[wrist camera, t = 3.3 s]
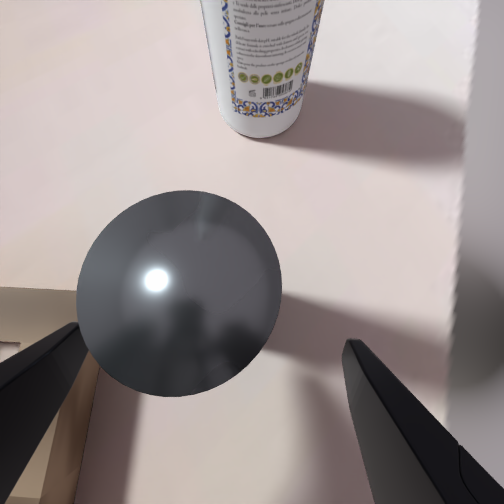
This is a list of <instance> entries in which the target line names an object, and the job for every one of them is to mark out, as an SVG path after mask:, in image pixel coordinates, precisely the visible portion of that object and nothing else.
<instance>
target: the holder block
mask: <svg viewBox="0 0 504 504" xmlns="http://www.w3.org/2000/svg"><path fill="white" fill-rule="evenodd" d="M76 292H77V291H71V290H52V289H33V288H14V287H0V341H5V342H21V344H20V348H19V352H20V351H22V350H23V349H25V348H27V347H29V346H30V345H32V344H34V343H35V342H37V341H39V340H41V339H42V338H44V337H46V336H48V335H49V334H51V333H53V332H54V331H56V330H58V329H60V328H61V327H63V326H65V325H66V324H68V323H70V322H74V321H76V322H78V319H77V309H76ZM99 367H100V365H99V364H98V362H97V361H96V360H95V359H94V357H93V356H92V354H91V353H90V351H88V353H87V356H86V358H85V360H84V362H83V364H82V366H81V369H80V371H79V373H78V375H77V377H76V380H75V382H74V384H73V386H72V388H71V390H70V391H69V393H68V395H67V397H66V399H65V400H64V402H63V404H62V405H61V407H60V409H59V411H58V412H57V414H56V416H55V418H54V419H53V421H52V423H51V425H50V426H49V428H48V430H47V431H46V433H45V435H44V437H43V438H42V440H41V442H40V444H39V445H38V447H37V449H36V451H35V452H34V454H33V456H32V457H31V459H30V461H29V463H28V464H27V466H26V468H25V470H24V471H23V473H22V475H21V477H20V478H19V480H18V482H17V483H16V485H15V487H14V489H13V490H12V492H11V494H10V496H9V497H8V499H7V501H6V502H5V504H74V498H75V493H76V488H77V483H78V477H79V472H80V467H81V462H82V456H83V451H84V446H85V441H86V435H87V430H88V425H89V420H90V414H91V409H92V404H93V399H94V393H95V388H96V383H97V378H98V372H99Z"/></svg>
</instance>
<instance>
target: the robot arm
mask: <svg viewBox="0 0 504 504" xmlns="http://www.w3.org/2000/svg"><path fill="white" fill-rule="evenodd" d="M88 351H89V349H88V347H87V346H86V344H85V341H84V339H83V336H82V334H81V331H80V327H79V323H78V322H76V321H74V322H70V323H68V324H66V325H65V326H63V327H61V328H60V329H58V330H56V331H54V332H53V333H51V334H49V335H48V336H46V337H44V338H42V339H41V340H39V341H37V342H35V343H34V344H32V345H30V346H29V347H27V348H25V349H23V350H22V351H20V352H18V353H17V354H15V355H13V356H11V357H10V358H8V359H6V360H4V361H3V362H1V363H0V504H5V502H6V501H7V499H8V497H9V496H10V494H11V492H12V490H13V489H14V487H15V485H16V483H17V482H18V480H19V478H20V477H21V475H22V473H23V471H24V470H25V468H26V466H27V464H28V463H29V461H30V459H31V457H32V456H33V454H34V452H35V451H36V449H37V447H38V445H39V444H40V442H41V440H42V438H43V437H44V435H45V433H46V431H47V430H48V428H49V426H50V425H51V423H52V421H53V419H54V418H55V416H56V414H57V412H58V411H59V409H60V407H61V405H62V404H63V402H64V400H65V399H66V397H67V395H68V393H69V391H70V390H71V388H72V386H73V384H74V382H75V380H76V377H77V375H78V373H79V371H80V369H81V366H82V364H83V362H84V360H85V358H86V356H87V353H88ZM342 365H343V371H344V378H345V384H346V390H347V397H348V403H349V408H350V412H351V416H352V420H353V424H354V428H355V431H356V435H357V439H358V443H359V446H360V450H361V454H362V458H363V461H364V465H365V469H366V472H367V476H368V480H369V484H370V487H371V491H372V495H373V499H374V502H375V504H504V489H503V487H502V486H500V485H499V484H498V483H497V482H496V481H495V480H494V479H493V478H492V477H491V476H490V474H488V472H487V471H486V470H485V469H484V468H483V467H482V466H481V465H480V464H479V463H478V462H477V461H476V460H475V459H474V458H473V457H472V456H471V455H470V454H469V453H468V452H467V451H466V450H465V449H464V448H463V447H462V446H461V445H459V444H458V441H457V440H456V439H455V438H454V437H453V436H452V435H451V434H450V433H449V432H448V431H447V430H446V429H445V428H444V427H443V426H442V425H441V424H440V422H439V421H438V420H437V419H436V418H435V417H434V416H433V415H432V414H431V413H430V412H429V411H428V410H427V409H426V408H425V407H424V406H423V405H422V404H421V402H420V401H419V400H418V399H417V398H416V397H415V396H414V395H413V394H412V393H411V392H410V391H409V390H408V389H407V388H406V387H405V386H404V385H403V384H402V383H401V381H400V380H399V379H398V378H397V377H396V376H395V375H394V374H393V373H392V372H391V371H390V370H389V369H388V368H387V367H386V366H385V365H384V364H383V363H382V361H381V360H380V359H379V358H378V357H377V356H376V355H375V354H374V353H373V352H372V351H371V350H370V349H369V348H368V347H367V346H366V345H365V344H364V343H363V342H362V341H361V340H360V339H351V338H349V339H347V340H346V343H345V346H344V350H343V353H342Z"/></svg>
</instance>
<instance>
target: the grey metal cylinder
mask: <svg viewBox="0 0 504 504" xmlns="http://www.w3.org/2000/svg"><path fill="white" fill-rule="evenodd" d="M281 293H282V279H281V270H280V265H279V260H278V257H277V254H276V251H275V248H274V246H273V244H272V242H271V240H270V238H269V236H268V235H267V233H266V232H265V230H264V229H263V227H262V226H261V225H260V224H259V223H258V221H257V220H256V219H255V218H254V217H253V216H252V215H251V214H249V213H248V212H247V211H246V210H245V209H243V208H242V207H240V206H239V205H237V204H236V203H234V202H232V201H230V200H228V199H226V198H223V197H221V196H218V195H215V194H211V193H207V192H201V191H191V190H188V191H173V192H166V193H162V194H158V195H154V196H152V197H149V198H147V199H144V200H142V201H140V202H138V203H136V204H134V205H132V206H131V207H129V208H128V209H126V210H125V211H123V212H122V213H120V214H119V215H118V216H117V217H116V218H114V219H113V220H112V221H111V222H110V223H109V224H108V225H107V226H106V227H105V228H104V229H103V231H102V232H101V233H100V234H99V236H98V237H97V239H96V240H95V241H94V243H93V245H92V246H91V248H90V250H89V252H88V253H87V256H86V258H85V260H84V263H83V265H82V268H81V272H80V275H79V279H78V285H77V292H76V309H77V319H78V323H79V327H80V331H81V334H82V336H83V339H84V341H85V344H86V346H87V347H88V349H89V351H90V353H91V354H92V356H93V357H94V359H95V360H96V361H97V362H98V364H99V365H100V366H101V367H102V368H103V369H104V370H105V371H106V372H107V373H108V374H109V375H110V376H111V377H113V378H114V379H116V380H117V381H119V382H120V383H122V384H123V385H125V386H127V387H129V388H132V389H134V390H136V391H139V392H142V393H146V394H149V395H155V396H162V397H181V396H188V395H194V394H198V393H201V392H204V391H208V390H210V389H212V388H215V387H217V386H219V385H221V384H223V383H225V382H226V381H228V380H229V379H231V378H233V377H234V376H236V375H237V374H238V373H239V372H240V371H242V370H243V369H244V368H245V367H246V366H247V365H248V364H249V363H250V362H251V361H252V360H253V359H254V358H255V357H256V356H257V354H258V353H259V352H260V350H261V349H262V347H263V346H264V344H265V343H266V341H267V339H268V337H269V335H270V334H271V332H272V330H273V327H274V324H275V322H276V319H277V316H278V312H279V307H280V303H281Z"/></svg>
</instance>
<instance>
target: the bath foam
mask: <svg viewBox="0 0 504 504" xmlns="http://www.w3.org/2000/svg"><path fill="white" fill-rule="evenodd" d="M200 4H201V10H202V16H203V21H204V27H205V33H206V38H207V44H208V50H209V56H210V61H211V67H212V73H213V78H214V84H215V89H216V94H217V100H218V105H219V110H220V113H221V115H222V117H223V119H224V121H225V122H226V123H227V124H228V125H229V126H230V127H231V128H232V129H233V130H235V131H236V132H238V133H240V134H242V135H245V136H249V137H254V138H265V137H271V136H274V135H277V134H279V133H281V132H283V131H285V130H286V129H288V128H289V127H290V126H291V125H292V124H293V123H294V122H295V120H296V119H297V117H298V115H299V113H300V110H301V106H302V102H303V97H304V92H305V88H306V84H307V79H308V75H309V70H310V65H311V61H312V56H313V51H314V47H315V42H316V37H317V33H318V28H319V23H320V18H321V14H322V9H323V4H324V0H200Z"/></svg>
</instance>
